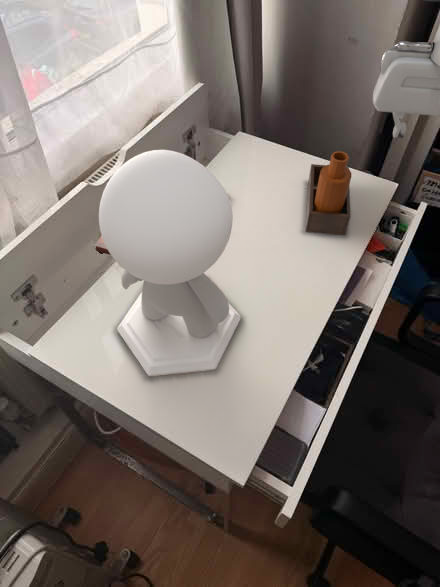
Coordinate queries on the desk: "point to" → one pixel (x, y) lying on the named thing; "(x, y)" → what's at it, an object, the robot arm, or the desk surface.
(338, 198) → the bottle
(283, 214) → the desk surface
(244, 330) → the desk surface
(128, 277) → the white cartoon figure
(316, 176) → the box
